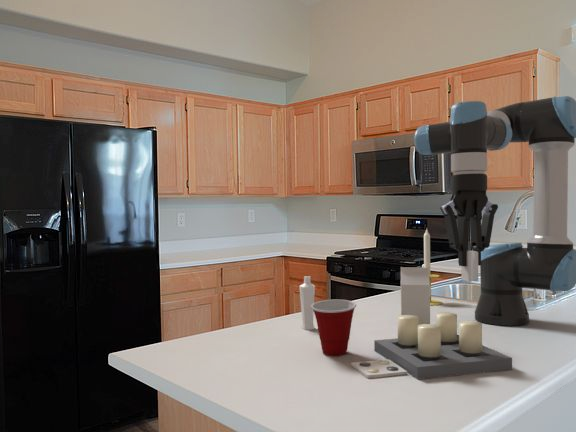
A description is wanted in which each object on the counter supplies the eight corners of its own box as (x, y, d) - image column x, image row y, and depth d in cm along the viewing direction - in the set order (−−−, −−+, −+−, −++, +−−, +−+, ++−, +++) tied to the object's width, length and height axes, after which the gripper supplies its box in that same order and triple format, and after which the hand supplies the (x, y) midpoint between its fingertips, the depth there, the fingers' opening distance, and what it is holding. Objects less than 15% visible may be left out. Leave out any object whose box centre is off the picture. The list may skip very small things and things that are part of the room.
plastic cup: (303, 355, 124) (302, 305, 124) (325, 344, 133) (324, 297, 133) (343, 362, 118) (343, 309, 118) (364, 350, 127) (363, 301, 127)
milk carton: (430, 344, 132) (429, 269, 132) (401, 343, 134) (400, 269, 133) (428, 337, 139) (427, 265, 139) (401, 336, 141) (400, 265, 140)
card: (389, 361, 118) (389, 358, 118) (407, 374, 109) (407, 370, 109) (351, 365, 116) (351, 361, 116) (366, 378, 107) (366, 374, 107)
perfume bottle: (308, 331, 148) (307, 278, 148) (297, 328, 152) (296, 276, 151) (319, 328, 151) (318, 276, 151) (309, 325, 155) (308, 275, 154)
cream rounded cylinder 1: (450, 336, 128) (450, 311, 128) (461, 341, 123) (460, 315, 123) (432, 337, 127) (432, 313, 127) (442, 342, 122) (442, 317, 122)
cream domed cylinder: (433, 350, 116) (433, 323, 116) (445, 356, 111) (445, 328, 111) (414, 352, 115) (413, 324, 115) (424, 358, 110) (424, 329, 110)
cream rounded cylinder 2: (473, 346, 118) (473, 320, 118) (486, 352, 114) (486, 324, 114) (454, 348, 117) (454, 321, 117) (467, 354, 112) (466, 326, 112)
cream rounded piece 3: (412, 339, 126) (412, 314, 126) (422, 344, 121) (422, 318, 121) (394, 340, 125) (394, 315, 124) (403, 346, 120) (403, 319, 120)
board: (455, 343, 132) (455, 333, 132) (512, 369, 111) (512, 357, 111) (374, 350, 127) (374, 340, 127) (417, 379, 106) (417, 367, 106)
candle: (447, 302, 187) (446, 227, 186) (433, 306, 180) (432, 228, 179) (422, 299, 194) (421, 226, 193) (407, 303, 186) (407, 228, 186)
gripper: (486, 174, 120) (487, 277, 120) (431, 174, 117) (432, 280, 117) (507, 172, 113) (508, 281, 113) (449, 172, 109) (450, 284, 110)
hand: (469, 280), depth 115 cm, fingers closed
